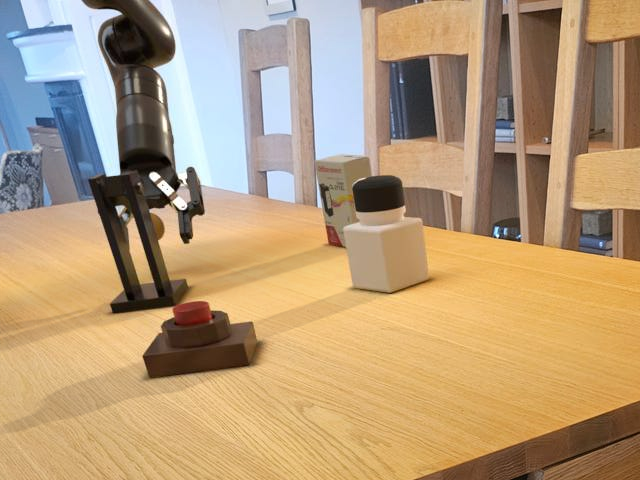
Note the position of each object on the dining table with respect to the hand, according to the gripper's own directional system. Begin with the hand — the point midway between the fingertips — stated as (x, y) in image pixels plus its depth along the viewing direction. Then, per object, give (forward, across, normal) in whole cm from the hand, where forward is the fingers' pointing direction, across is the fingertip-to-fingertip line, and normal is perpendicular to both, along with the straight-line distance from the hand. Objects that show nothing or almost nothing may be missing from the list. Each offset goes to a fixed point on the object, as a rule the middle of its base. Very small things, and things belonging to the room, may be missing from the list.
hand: (154, 243), depth 116 cm
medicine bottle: (+17, +32, -9) cm, 37 cm away
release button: (+30, +12, -28) cm, 43 cm away
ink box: (-5, +27, +12) cm, 30 cm away
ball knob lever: (+2, 0, -6) cm, 6 cm away
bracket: (+11, 0, -4) cm, 11 cm away
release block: (+33, +12, -26) cm, 43 cm away
